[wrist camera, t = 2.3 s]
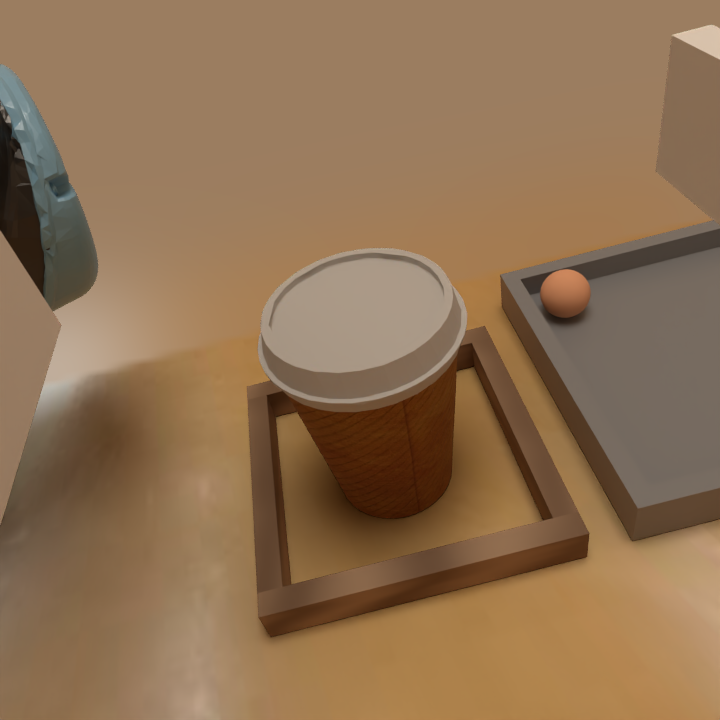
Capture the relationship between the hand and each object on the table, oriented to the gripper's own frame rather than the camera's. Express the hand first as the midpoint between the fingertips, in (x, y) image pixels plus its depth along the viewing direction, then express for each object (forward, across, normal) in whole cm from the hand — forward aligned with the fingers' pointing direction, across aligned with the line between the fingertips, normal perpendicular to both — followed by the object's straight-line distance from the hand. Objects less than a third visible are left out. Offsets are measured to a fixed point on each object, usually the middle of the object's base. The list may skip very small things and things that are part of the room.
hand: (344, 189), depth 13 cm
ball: (+19, +13, -22) cm, 32 cm away
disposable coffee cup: (+11, 0, -23) cm, 26 cm away
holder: (+11, 0, -23) cm, 26 cm away
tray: (+13, +20, -23) cm, 33 cm away
